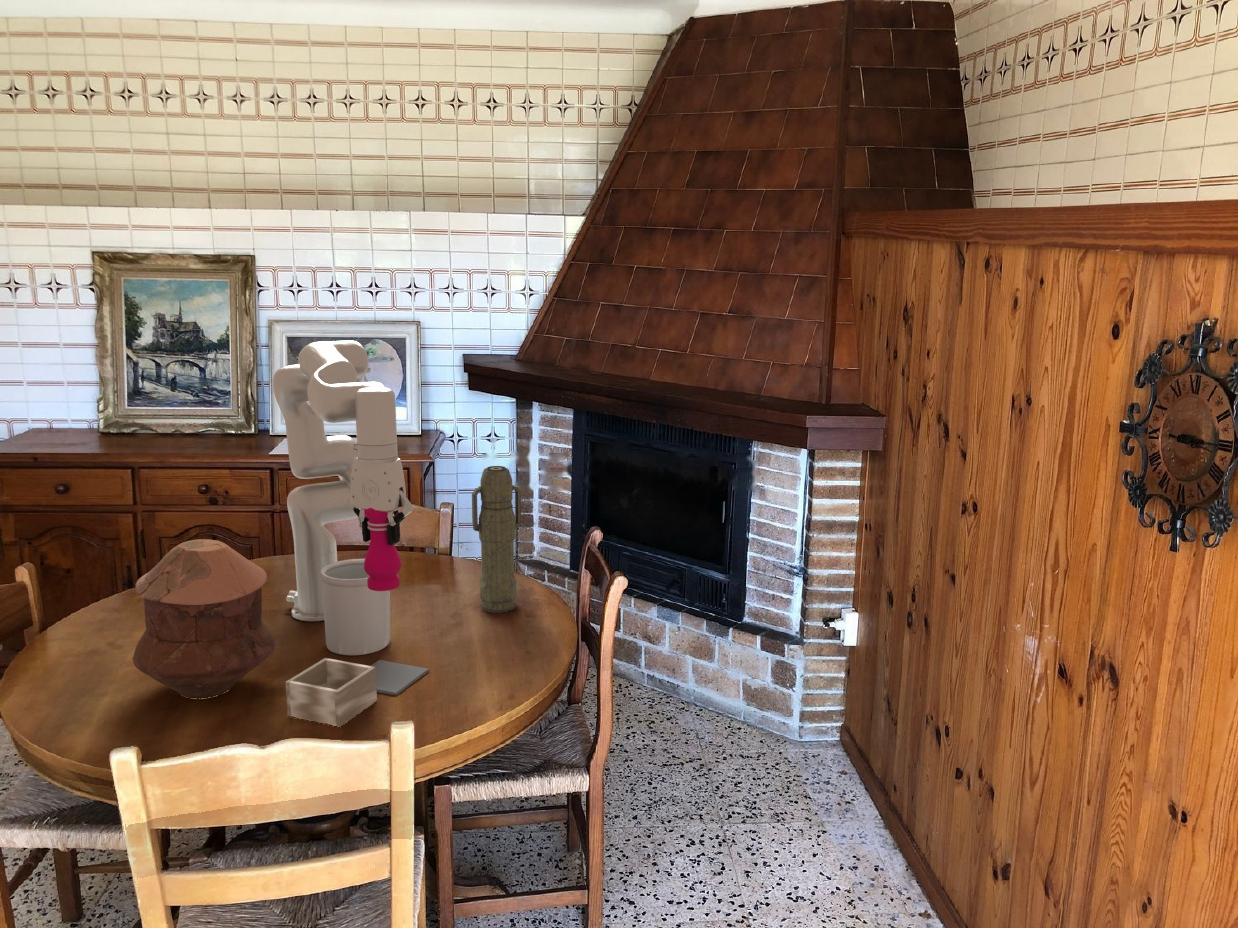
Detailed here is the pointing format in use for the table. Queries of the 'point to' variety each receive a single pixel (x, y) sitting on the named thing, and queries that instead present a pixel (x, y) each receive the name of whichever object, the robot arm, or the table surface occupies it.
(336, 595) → the utensil holder
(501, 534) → the thermos
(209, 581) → the pottery vessel
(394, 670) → the mat
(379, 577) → the pepper mill
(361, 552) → the table surface
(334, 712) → the crate
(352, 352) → the robot arm
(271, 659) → the table surface
